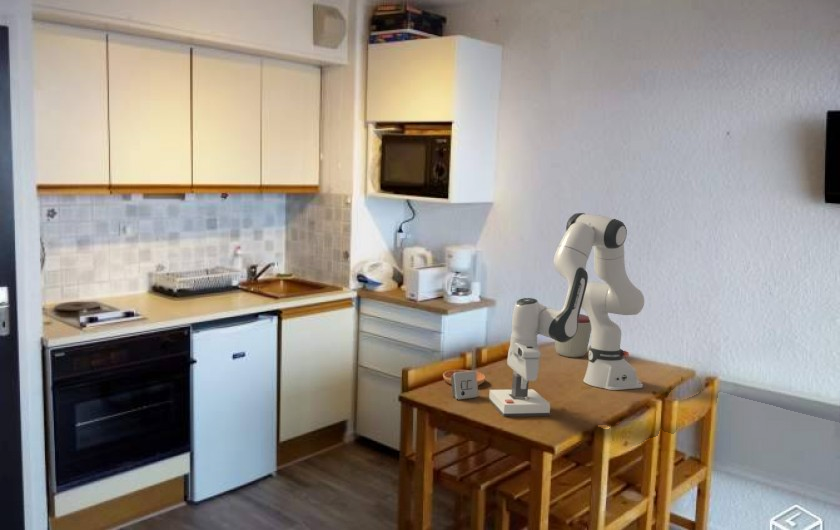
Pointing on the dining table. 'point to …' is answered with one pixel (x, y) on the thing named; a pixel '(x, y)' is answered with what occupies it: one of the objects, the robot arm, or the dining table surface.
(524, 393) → the grey upright block
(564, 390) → the dining table surface
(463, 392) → the electrical switch
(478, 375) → the saucer
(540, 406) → the socket
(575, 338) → the canister
